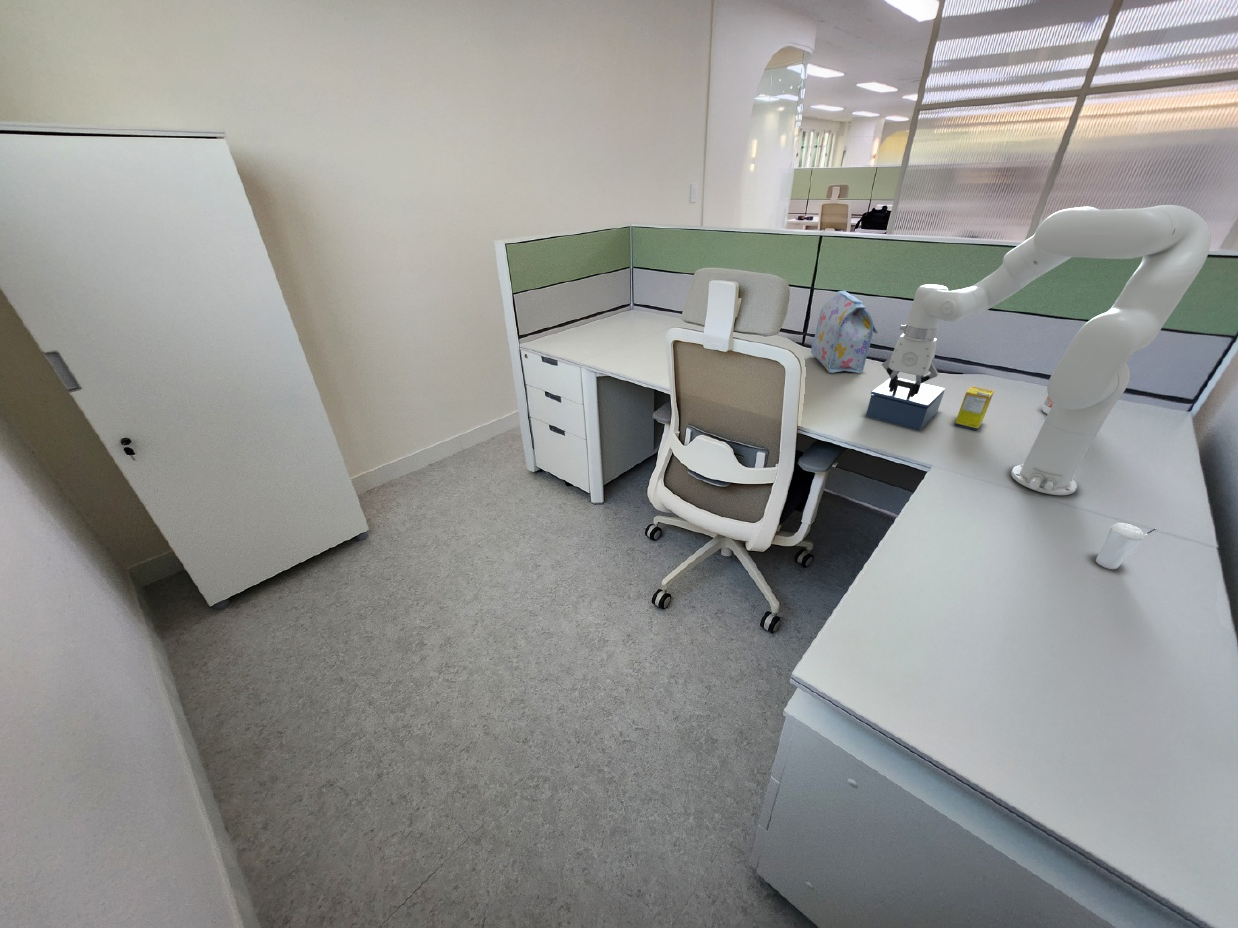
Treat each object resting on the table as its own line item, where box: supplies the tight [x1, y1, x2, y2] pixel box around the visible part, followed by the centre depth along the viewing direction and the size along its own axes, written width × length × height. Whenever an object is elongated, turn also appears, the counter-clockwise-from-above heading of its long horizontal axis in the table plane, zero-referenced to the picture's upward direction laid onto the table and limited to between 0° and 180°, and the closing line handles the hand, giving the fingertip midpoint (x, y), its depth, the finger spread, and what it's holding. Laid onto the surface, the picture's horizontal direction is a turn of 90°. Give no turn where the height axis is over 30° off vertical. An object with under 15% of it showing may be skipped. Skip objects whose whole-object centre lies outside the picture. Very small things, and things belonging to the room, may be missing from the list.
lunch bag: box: [810, 290, 879, 374], centre depth 185 cm, size 22×17×26 cm
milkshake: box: [1095, 522, 1157, 570], centre depth 91 cm, size 4×5×10 cm
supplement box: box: [954, 385, 995, 432], centre depth 142 cm, size 6×6×11 cm
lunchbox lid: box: [870, 377, 946, 408], centre depth 146 cm, size 18×16×5 cm
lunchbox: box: [865, 391, 945, 432], centre depth 150 cm, size 18×16×7 cm
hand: (902, 392), depth 142 cm, fingers closed on lunchbox lid, 5 cm apart
